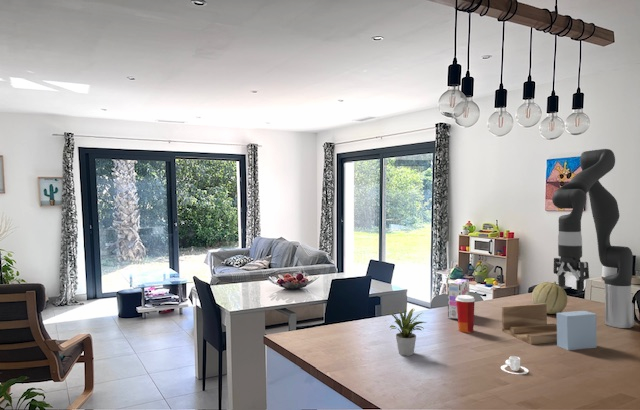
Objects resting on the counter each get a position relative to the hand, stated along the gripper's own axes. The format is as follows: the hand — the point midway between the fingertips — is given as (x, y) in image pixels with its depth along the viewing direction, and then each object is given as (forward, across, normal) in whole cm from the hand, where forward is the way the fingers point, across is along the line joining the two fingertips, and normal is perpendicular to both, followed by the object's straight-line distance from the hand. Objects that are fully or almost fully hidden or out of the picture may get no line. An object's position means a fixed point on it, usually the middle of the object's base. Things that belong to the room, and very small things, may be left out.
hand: (570, 288), depth 153 cm
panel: (+21, -2, -1) cm, 21 cm away
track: (+21, +13, +4) cm, 25 cm away
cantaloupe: (+21, +41, -24) cm, 52 cm away
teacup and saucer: (+22, -15, +31) cm, 41 cm away
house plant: (+21, +5, +62) cm, 66 cm away
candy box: (+21, +46, +19) cm, 54 cm away
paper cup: (+21, +25, +28) cm, 43 cm away
